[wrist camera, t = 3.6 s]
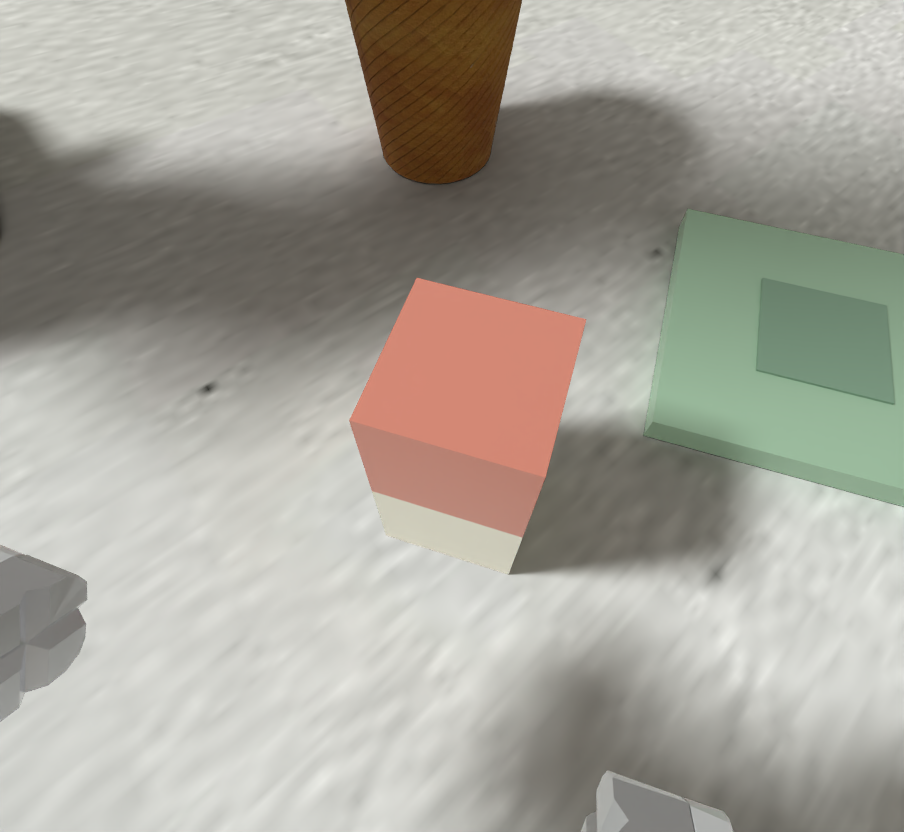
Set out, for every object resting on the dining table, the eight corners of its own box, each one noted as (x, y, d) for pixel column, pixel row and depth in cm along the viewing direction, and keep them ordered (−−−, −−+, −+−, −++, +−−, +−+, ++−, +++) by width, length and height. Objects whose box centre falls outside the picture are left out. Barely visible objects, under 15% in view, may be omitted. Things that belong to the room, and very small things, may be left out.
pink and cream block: (386, 535, 21) (349, 420, 13) (427, 429, 23) (416, 277, 16) (508, 574, 20) (545, 477, 13) (538, 461, 23) (586, 319, 15)
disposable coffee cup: (508, 98, 35) (534, -171, 24) (528, 201, 30) (570, -77, 20) (356, 103, 35) (317, -168, 24) (352, 208, 30) (300, -72, 19)
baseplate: (643, 435, 23) (653, 420, 22) (679, 227, 29) (688, 206, 28) (983, 528, 21) (1013, 516, 20) (945, 285, 27) (967, 265, 26)
